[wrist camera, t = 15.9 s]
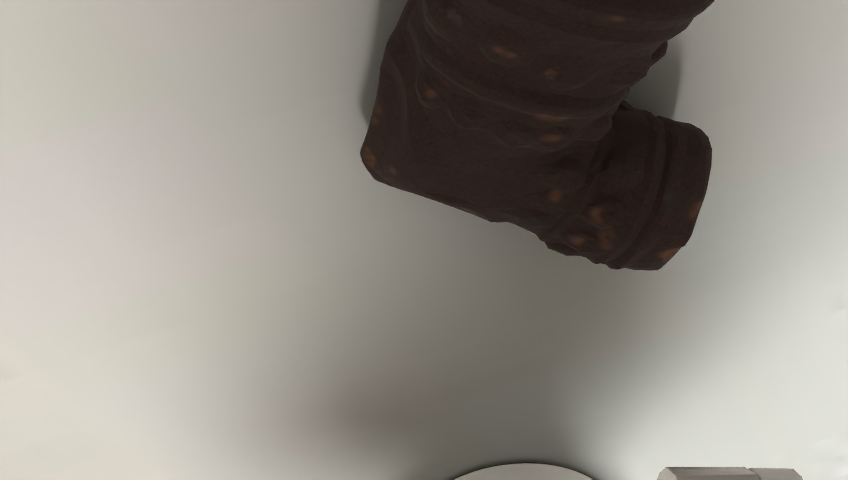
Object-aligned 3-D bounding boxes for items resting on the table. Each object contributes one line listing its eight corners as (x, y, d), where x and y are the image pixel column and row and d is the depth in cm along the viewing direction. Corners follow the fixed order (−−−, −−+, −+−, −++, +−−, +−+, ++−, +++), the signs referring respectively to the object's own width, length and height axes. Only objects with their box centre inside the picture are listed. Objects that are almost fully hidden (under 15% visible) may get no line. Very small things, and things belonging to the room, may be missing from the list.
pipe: (652, 333, 37) (861, 67, 26) (330, 262, 35) (415, -58, 24) (628, 188, 44) (787, -70, 33) (357, 122, 42) (433, -177, 31)
